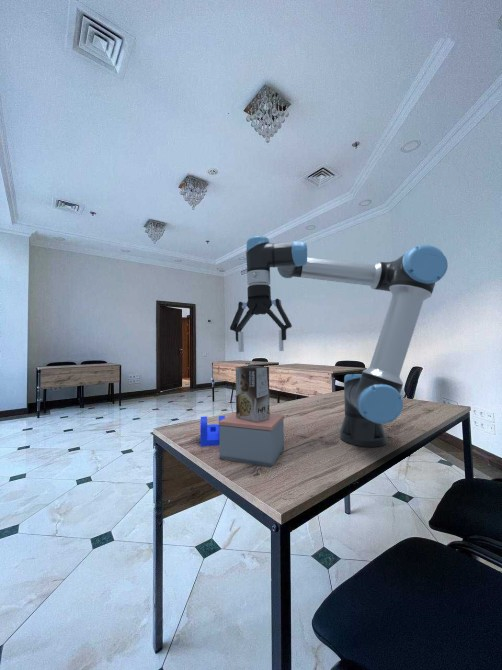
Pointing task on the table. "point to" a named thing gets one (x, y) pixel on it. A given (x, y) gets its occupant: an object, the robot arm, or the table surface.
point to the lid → (243, 423)
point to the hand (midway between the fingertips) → (260, 351)
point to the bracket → (210, 432)
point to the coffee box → (252, 393)
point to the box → (251, 444)
